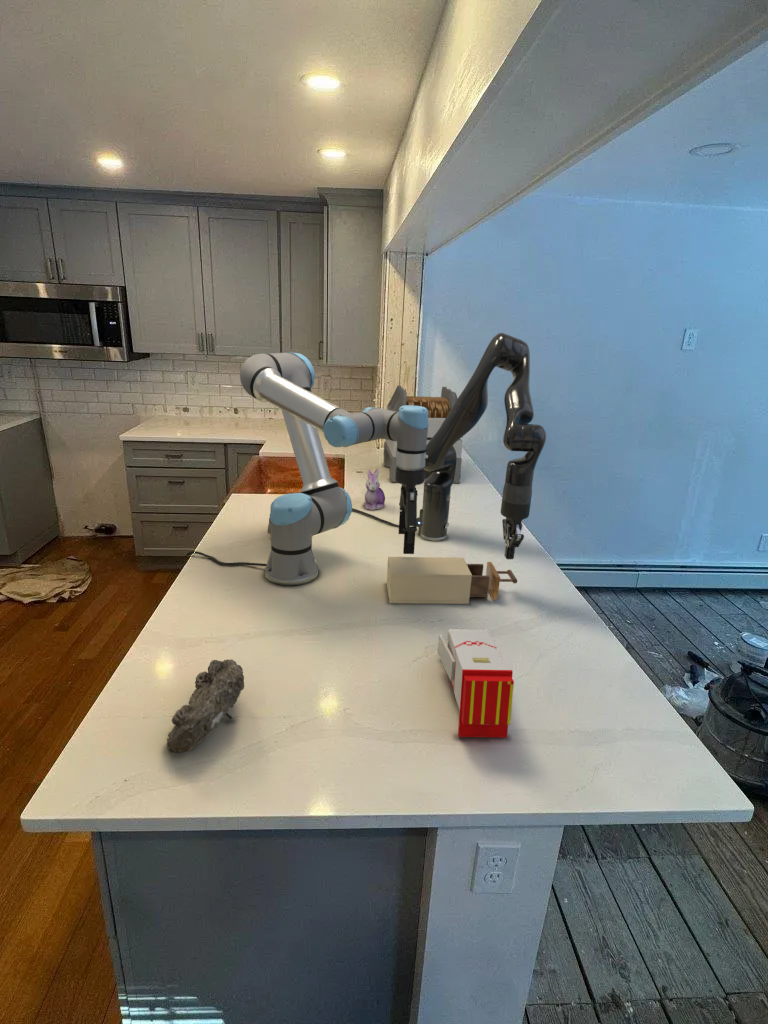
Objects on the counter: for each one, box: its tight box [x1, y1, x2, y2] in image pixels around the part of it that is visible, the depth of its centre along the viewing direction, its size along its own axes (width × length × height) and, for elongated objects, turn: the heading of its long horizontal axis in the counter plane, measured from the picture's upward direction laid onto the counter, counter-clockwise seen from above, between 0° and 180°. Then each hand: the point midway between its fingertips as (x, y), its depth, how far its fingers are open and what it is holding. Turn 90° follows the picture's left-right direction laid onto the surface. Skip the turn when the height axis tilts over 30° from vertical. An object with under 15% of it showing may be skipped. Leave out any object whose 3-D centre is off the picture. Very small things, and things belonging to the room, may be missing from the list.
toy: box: [437, 628, 515, 738], centre depth 117 cm, size 12×13×30 cm
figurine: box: [363, 468, 386, 511], centre depth 223 cm, size 9×10×15 cm
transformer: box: [383, 384, 464, 484], centre depth 268 cm, size 34×33×41 cm
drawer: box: [466, 561, 518, 601], centre depth 158 cm, size 26×10×7 cm, turn 94°
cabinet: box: [386, 556, 472, 605], centre depth 157 cm, size 22×11×9 cm, turn 94°
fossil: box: [166, 658, 245, 754], centre depth 106 cm, size 22×10×15 cm
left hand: (405, 543), depth 153 cm, fingers open, 13 cm apart
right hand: (508, 558), depth 156 cm, fingers closed
